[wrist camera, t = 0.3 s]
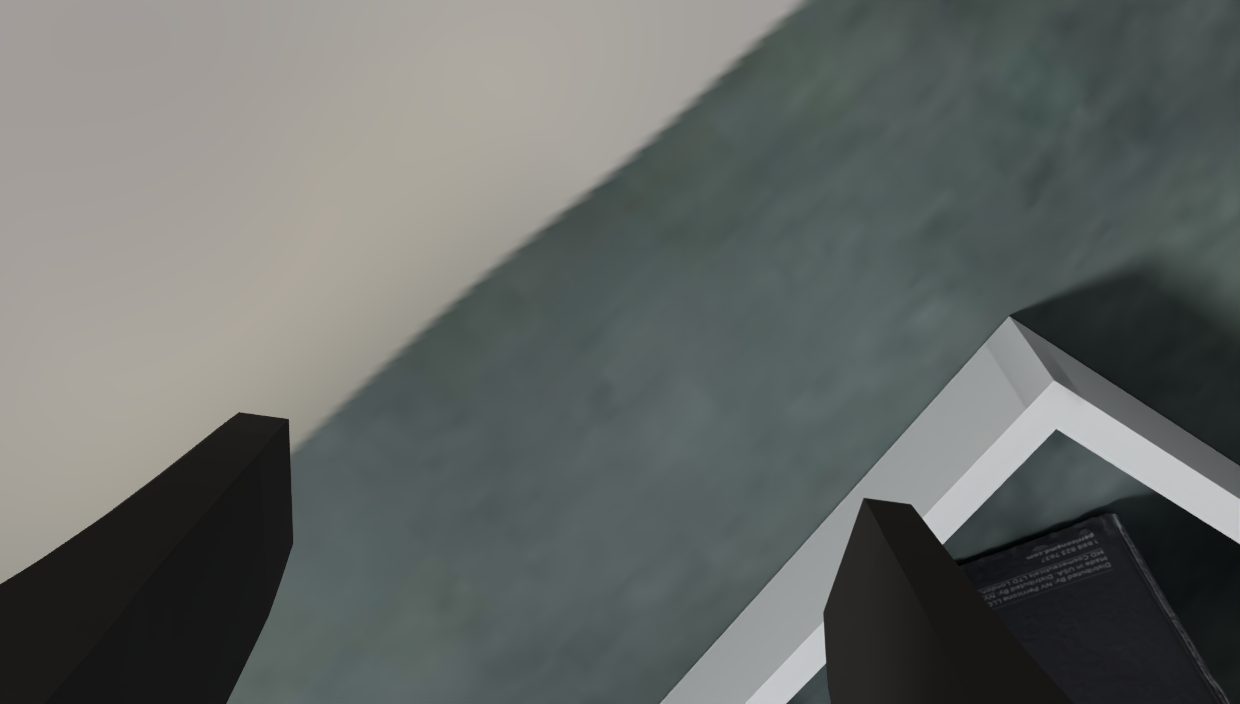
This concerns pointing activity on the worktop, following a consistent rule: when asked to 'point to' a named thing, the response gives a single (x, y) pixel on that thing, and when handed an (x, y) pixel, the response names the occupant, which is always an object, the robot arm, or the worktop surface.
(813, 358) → the worktop surface
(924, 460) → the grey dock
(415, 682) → the worktop surface
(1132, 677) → the small box
